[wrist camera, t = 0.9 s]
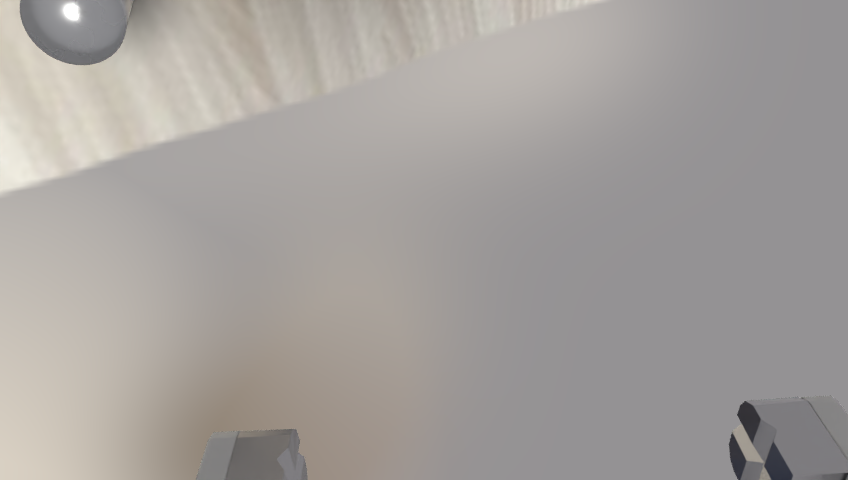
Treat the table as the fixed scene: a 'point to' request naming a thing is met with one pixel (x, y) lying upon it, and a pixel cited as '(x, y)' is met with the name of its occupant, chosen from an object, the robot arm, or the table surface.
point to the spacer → (76, 27)
